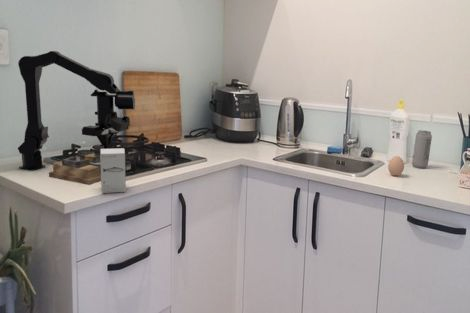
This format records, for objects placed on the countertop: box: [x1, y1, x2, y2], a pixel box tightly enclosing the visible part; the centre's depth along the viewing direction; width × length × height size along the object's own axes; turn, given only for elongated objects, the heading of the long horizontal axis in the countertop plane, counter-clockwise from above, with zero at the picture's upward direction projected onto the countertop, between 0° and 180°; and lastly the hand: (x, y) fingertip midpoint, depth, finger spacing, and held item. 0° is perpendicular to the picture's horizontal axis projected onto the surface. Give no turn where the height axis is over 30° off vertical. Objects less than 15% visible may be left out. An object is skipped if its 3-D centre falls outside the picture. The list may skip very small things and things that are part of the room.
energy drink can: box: [411, 129, 433, 169], centre depth 172 cm, size 6×6×15 cm
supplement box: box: [100, 147, 127, 194], centre depth 130 cm, size 7×7×13 cm
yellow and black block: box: [84, 144, 104, 162], centre depth 149 cm, size 4×6×5 cm, turn 155°
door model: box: [48, 150, 101, 185], centre depth 146 cm, size 18×16×6 cm
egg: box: [387, 155, 405, 177], centre depth 159 cm, size 6×6×8 cm
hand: (106, 151), depth 155 cm, fingers closed
